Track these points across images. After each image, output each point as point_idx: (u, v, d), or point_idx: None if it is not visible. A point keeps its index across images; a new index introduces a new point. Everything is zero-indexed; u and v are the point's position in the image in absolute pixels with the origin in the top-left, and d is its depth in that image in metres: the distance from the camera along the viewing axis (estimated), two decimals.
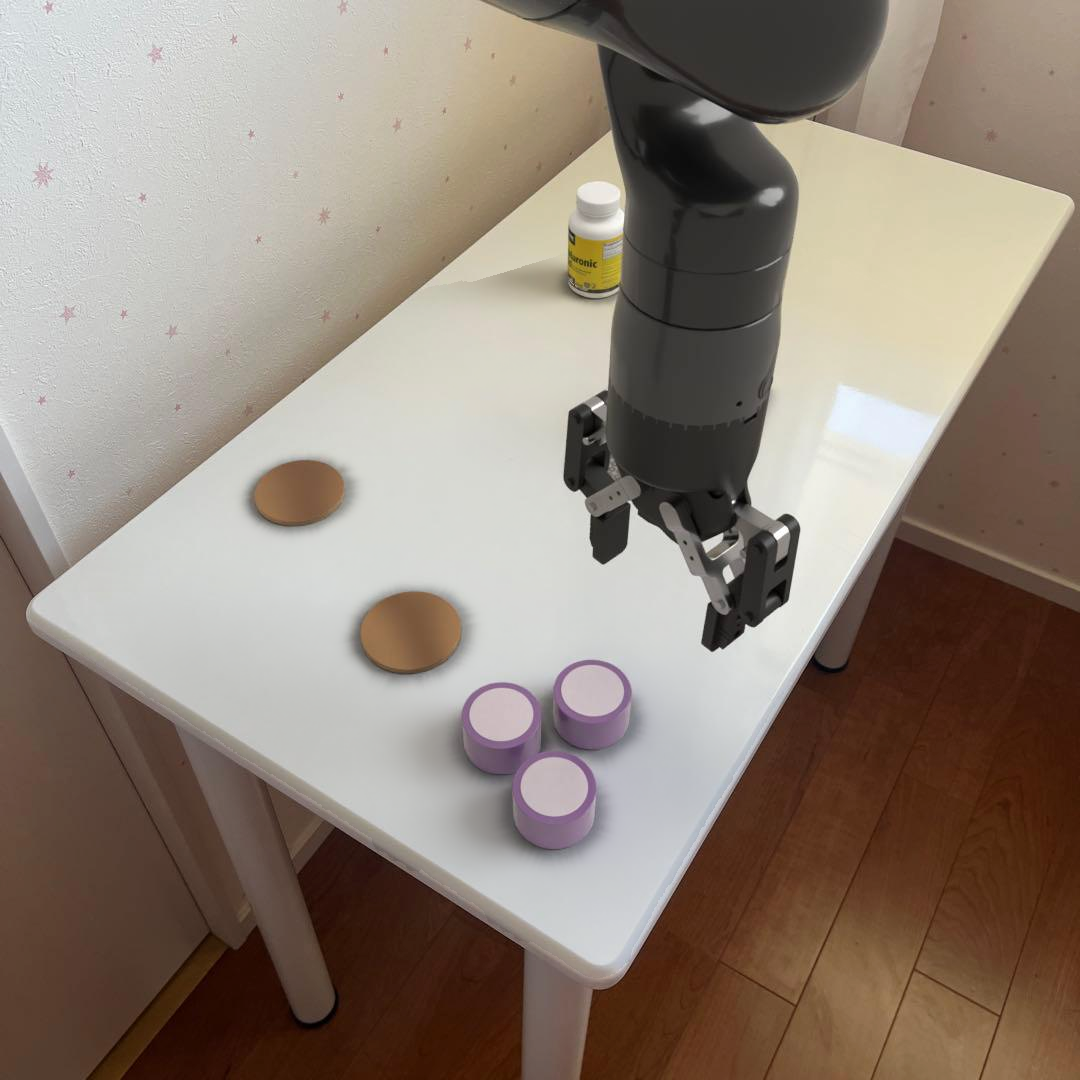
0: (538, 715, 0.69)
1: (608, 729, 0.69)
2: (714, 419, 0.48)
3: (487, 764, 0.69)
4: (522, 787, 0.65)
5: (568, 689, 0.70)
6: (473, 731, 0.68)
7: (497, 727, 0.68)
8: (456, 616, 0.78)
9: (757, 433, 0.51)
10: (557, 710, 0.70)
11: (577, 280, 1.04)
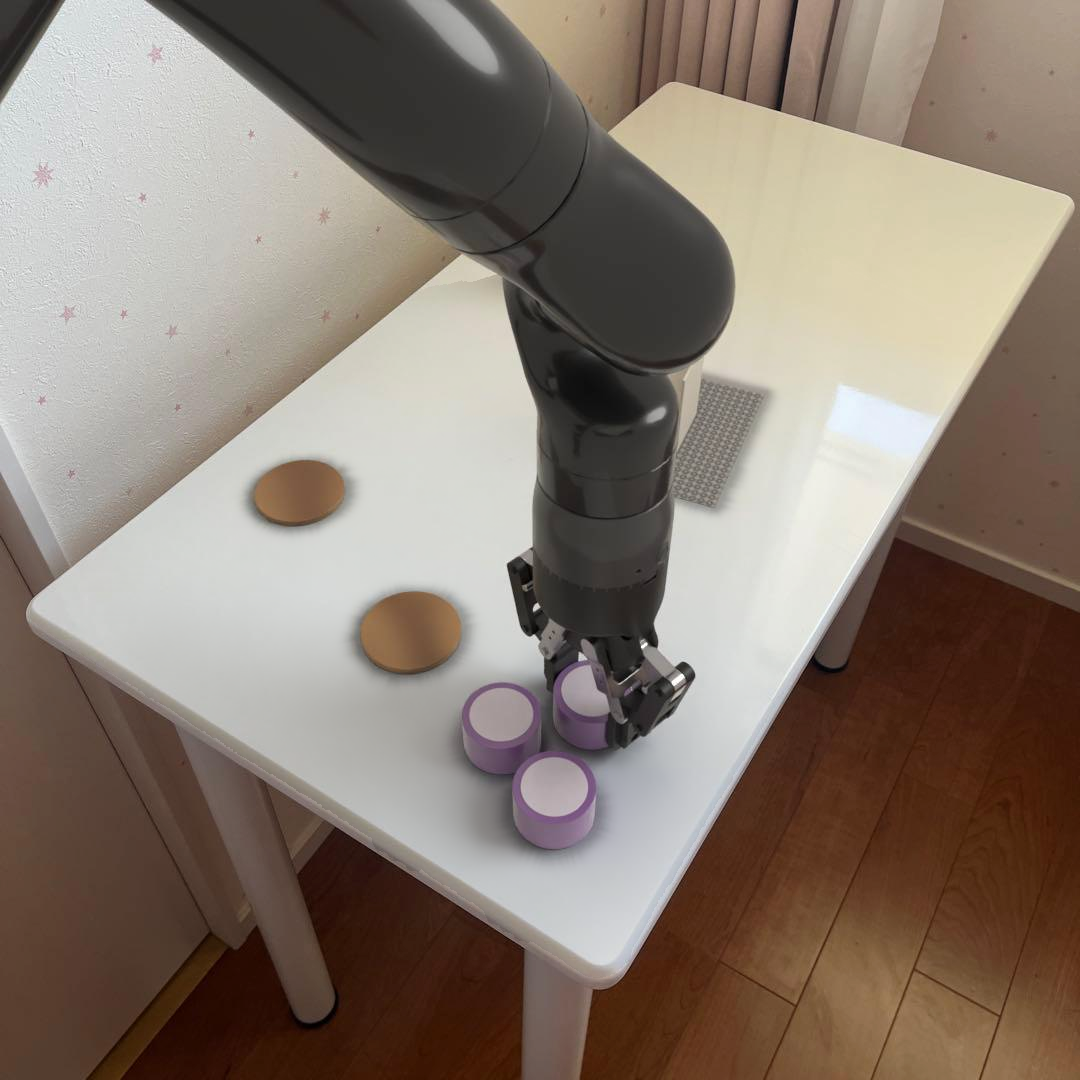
0: (538, 715, 0.69)
1: None
2: (618, 583, 0.57)
3: (487, 764, 0.69)
4: (522, 787, 0.65)
5: (568, 689, 0.70)
6: (473, 731, 0.68)
7: (497, 727, 0.68)
8: (456, 616, 0.78)
9: (659, 588, 0.60)
10: (557, 710, 0.70)
11: None
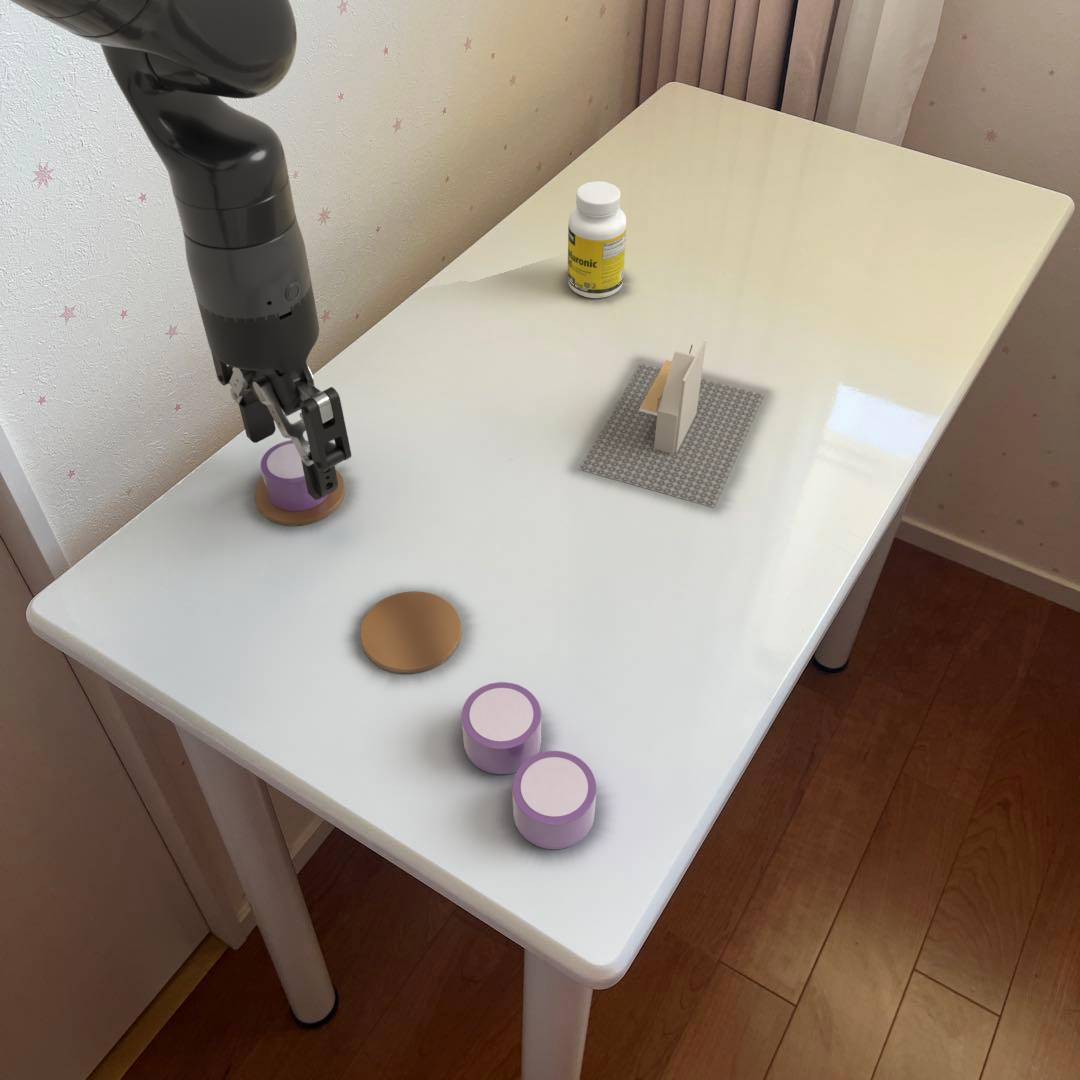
0: (538, 715, 0.69)
1: (303, 490, 0.83)
2: (253, 314, 0.70)
3: (487, 764, 0.69)
4: (522, 787, 0.65)
5: (273, 460, 0.84)
6: (473, 731, 0.68)
7: (497, 727, 0.68)
8: (456, 616, 0.78)
9: (300, 327, 0.73)
10: (263, 476, 0.84)
11: (577, 280, 1.04)
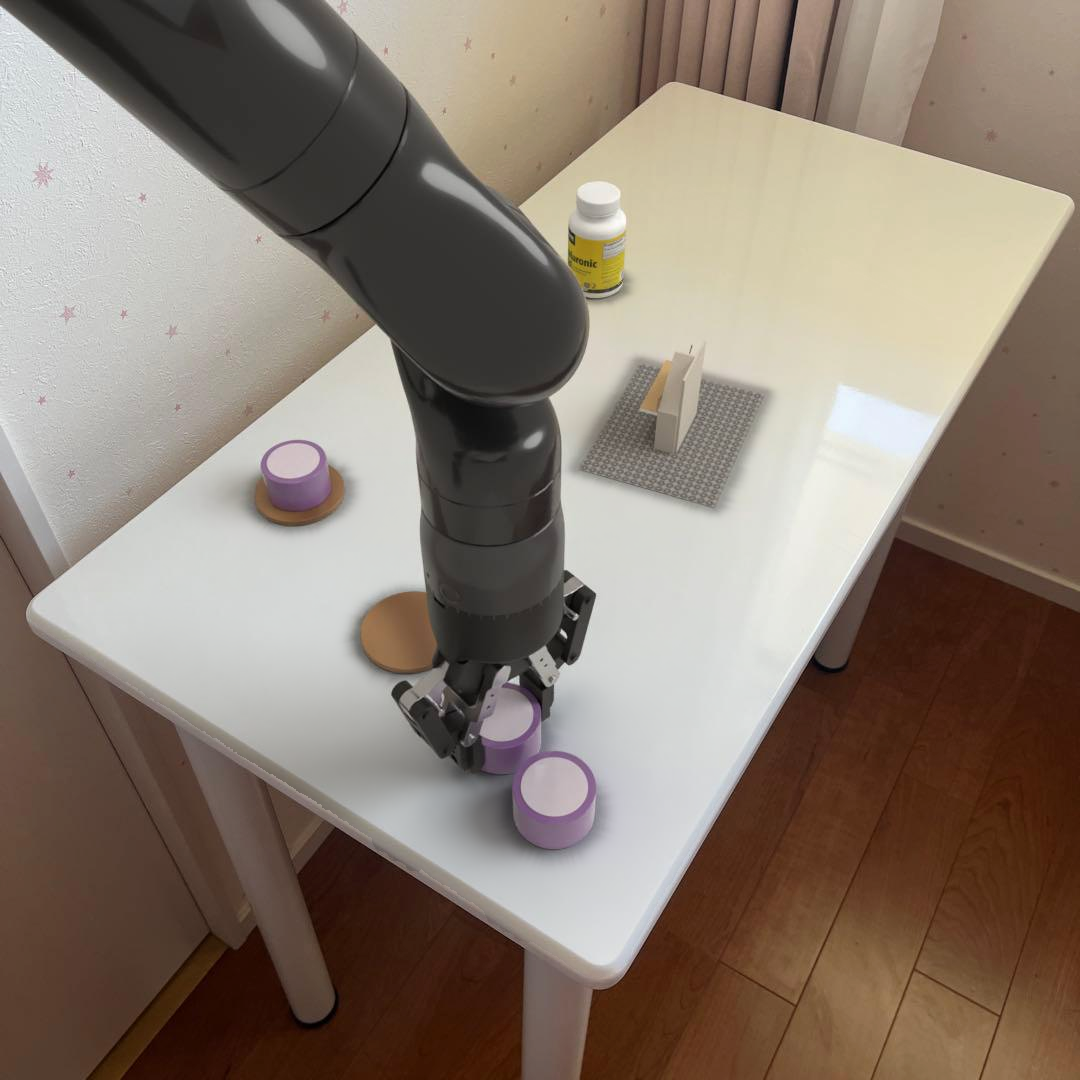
0: (538, 715, 0.69)
1: (303, 490, 0.83)
2: (423, 567, 0.58)
3: (487, 764, 0.69)
4: (522, 787, 0.65)
5: (273, 460, 0.84)
6: None
7: (497, 727, 0.68)
8: None
9: (453, 629, 0.58)
10: (263, 476, 0.84)
11: None
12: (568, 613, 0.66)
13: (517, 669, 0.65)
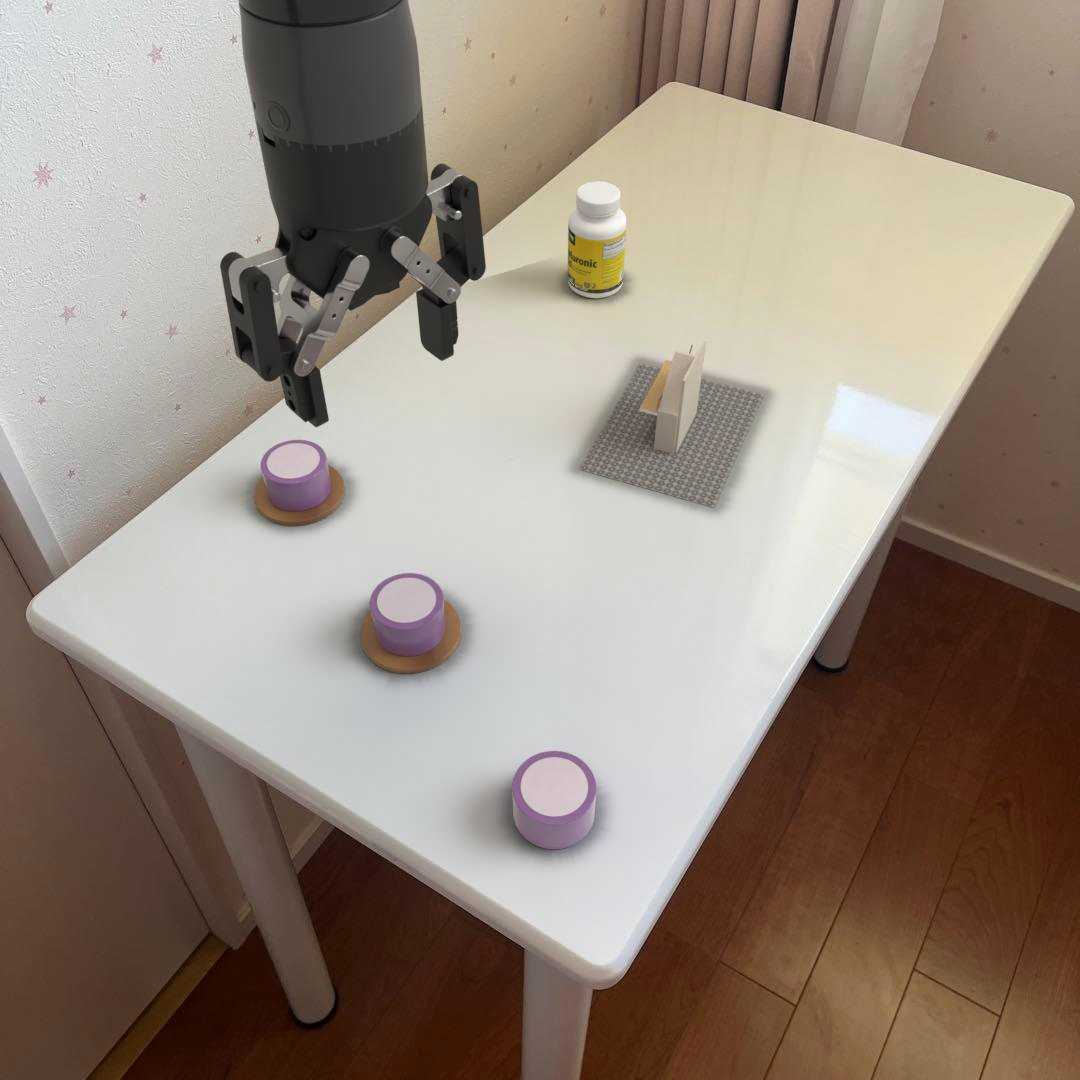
0: (440, 601, 0.75)
1: (303, 490, 0.83)
2: None
3: (393, 645, 0.75)
4: (522, 787, 0.65)
5: (273, 460, 0.84)
6: (379, 614, 0.74)
7: (401, 611, 0.74)
8: (456, 616, 0.78)
9: (288, 178, 0.49)
10: (263, 476, 0.84)
11: (577, 280, 1.04)
12: (449, 212, 0.57)
13: (383, 281, 0.56)
